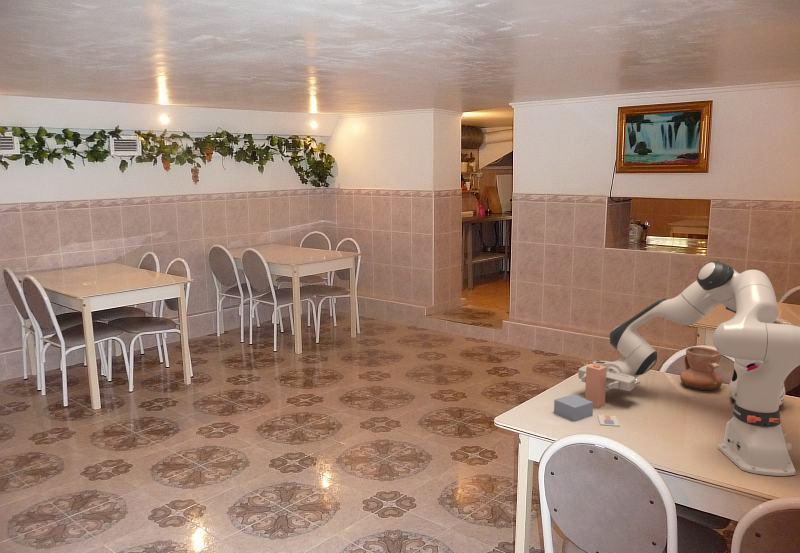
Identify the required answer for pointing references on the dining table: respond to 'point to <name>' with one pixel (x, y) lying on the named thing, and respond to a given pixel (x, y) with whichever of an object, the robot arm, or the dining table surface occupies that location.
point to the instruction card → (608, 420)
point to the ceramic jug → (701, 368)
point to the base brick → (573, 407)
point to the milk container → (740, 369)
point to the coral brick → (596, 384)
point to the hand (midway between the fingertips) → (595, 383)
